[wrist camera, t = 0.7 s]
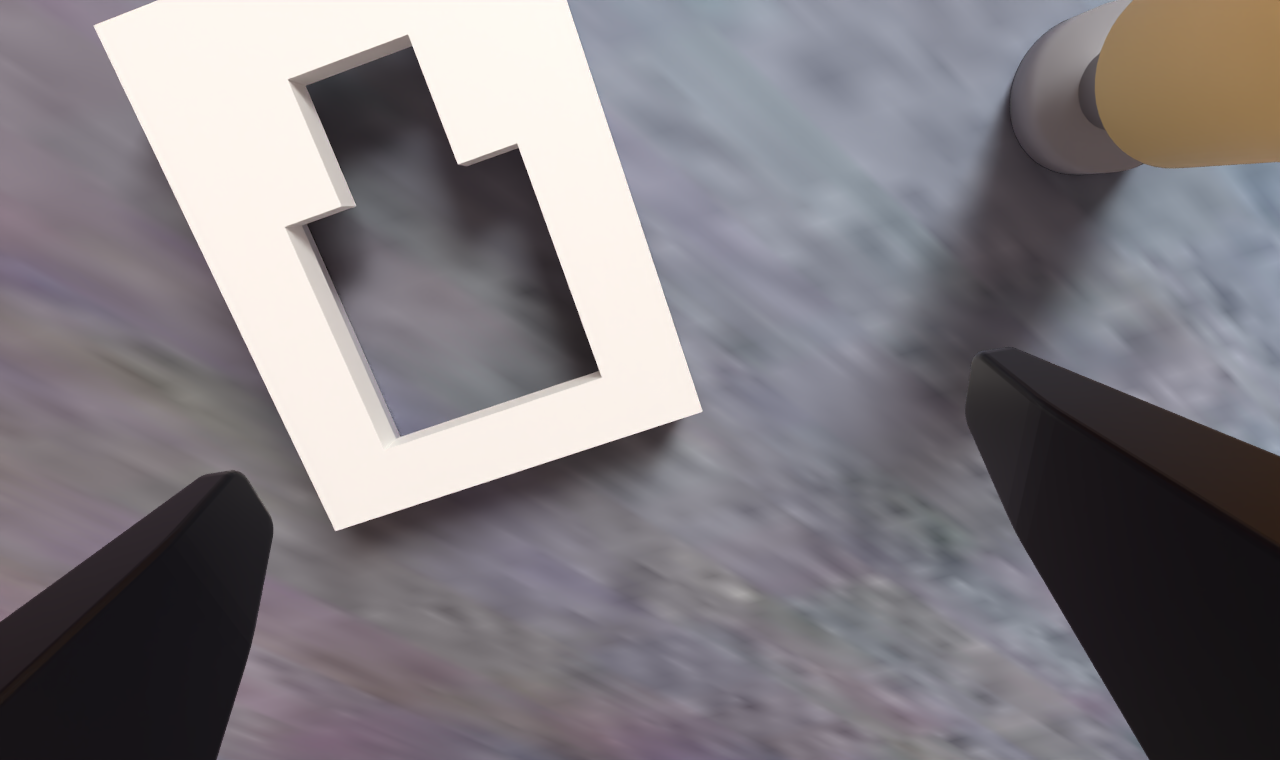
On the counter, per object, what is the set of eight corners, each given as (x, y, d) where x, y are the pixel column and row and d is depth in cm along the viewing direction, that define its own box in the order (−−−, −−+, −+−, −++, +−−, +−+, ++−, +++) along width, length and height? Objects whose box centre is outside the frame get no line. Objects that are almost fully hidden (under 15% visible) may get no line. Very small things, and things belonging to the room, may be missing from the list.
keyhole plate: (693, 383, 23) (702, 411, 20) (374, 488, 24) (335, 530, 21) (538, -87, 20) (519, -141, 17) (175, 52, 21) (93, 25, 17)
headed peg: (1186, 118, 21) (2003, -8, 9) (1050, 203, 22) (1629, 206, 9) (1123, -20, 20) (1931, -388, 8) (983, 73, 21) (1520, -126, 8)
